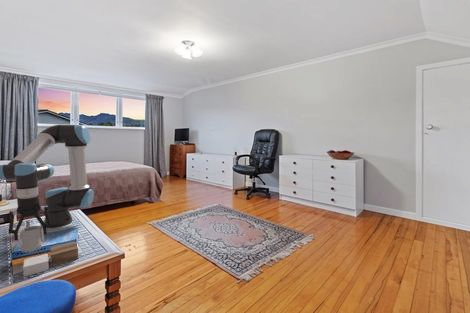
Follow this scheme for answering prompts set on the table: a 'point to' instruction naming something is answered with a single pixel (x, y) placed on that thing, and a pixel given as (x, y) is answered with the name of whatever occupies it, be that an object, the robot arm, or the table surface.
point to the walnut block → (64, 253)
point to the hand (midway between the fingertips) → (31, 243)
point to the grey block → (35, 264)
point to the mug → (30, 238)
